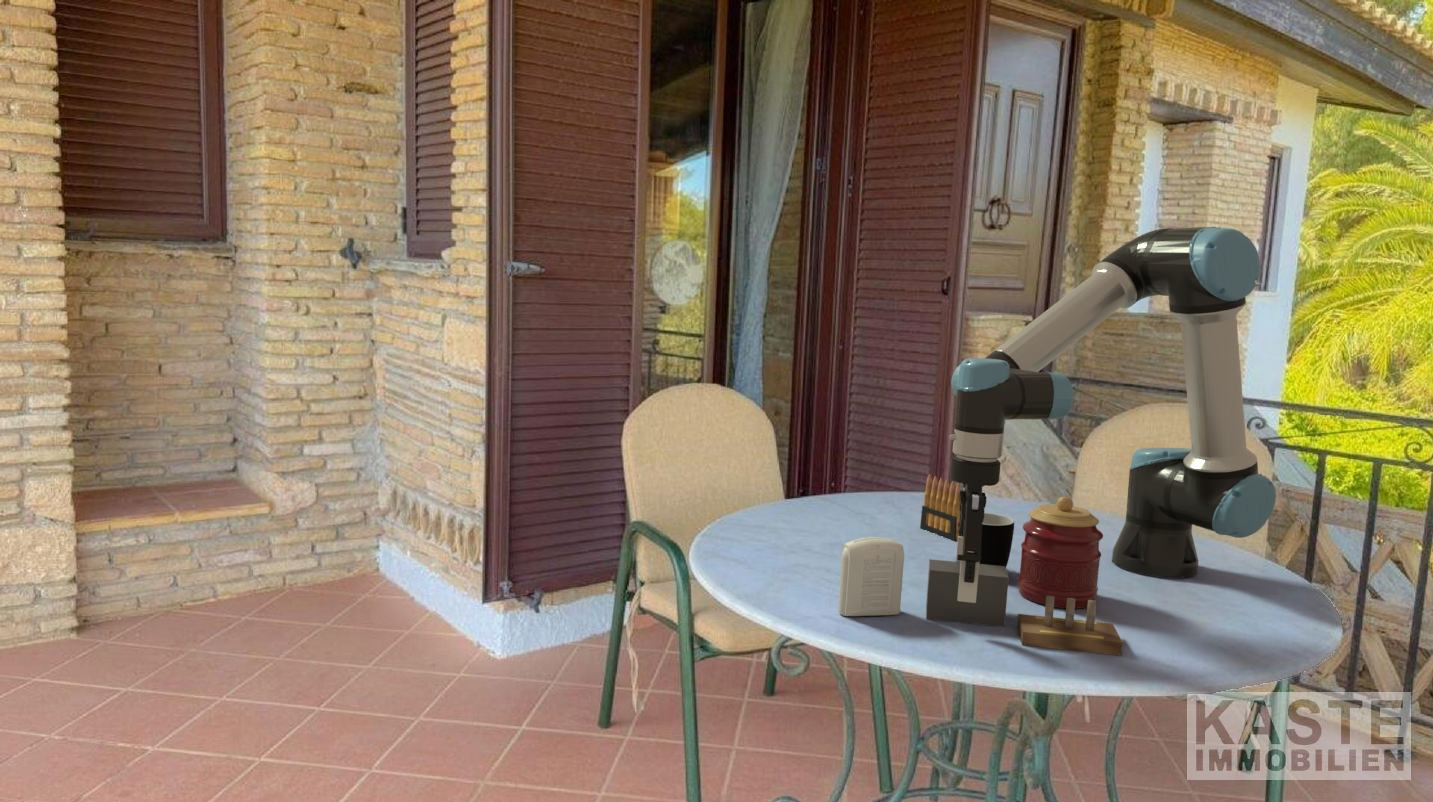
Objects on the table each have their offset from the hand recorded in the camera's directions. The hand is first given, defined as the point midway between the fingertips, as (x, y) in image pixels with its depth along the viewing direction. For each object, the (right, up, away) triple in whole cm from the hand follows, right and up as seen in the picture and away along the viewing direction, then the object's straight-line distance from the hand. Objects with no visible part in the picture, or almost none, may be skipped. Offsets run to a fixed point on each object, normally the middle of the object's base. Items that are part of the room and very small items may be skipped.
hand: (964, 588), depth 159 cm
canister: (+19, -4, +12) cm, 23 cm away
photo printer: (-15, -4, +1) cm, 16 cm away
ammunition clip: (+7, +2, +50) cm, 50 cm away
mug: (+9, -2, +26) cm, 28 cm away
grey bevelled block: (0, -5, +1) cm, 5 cm away
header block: (+14, -6, -8) cm, 17 cm away
